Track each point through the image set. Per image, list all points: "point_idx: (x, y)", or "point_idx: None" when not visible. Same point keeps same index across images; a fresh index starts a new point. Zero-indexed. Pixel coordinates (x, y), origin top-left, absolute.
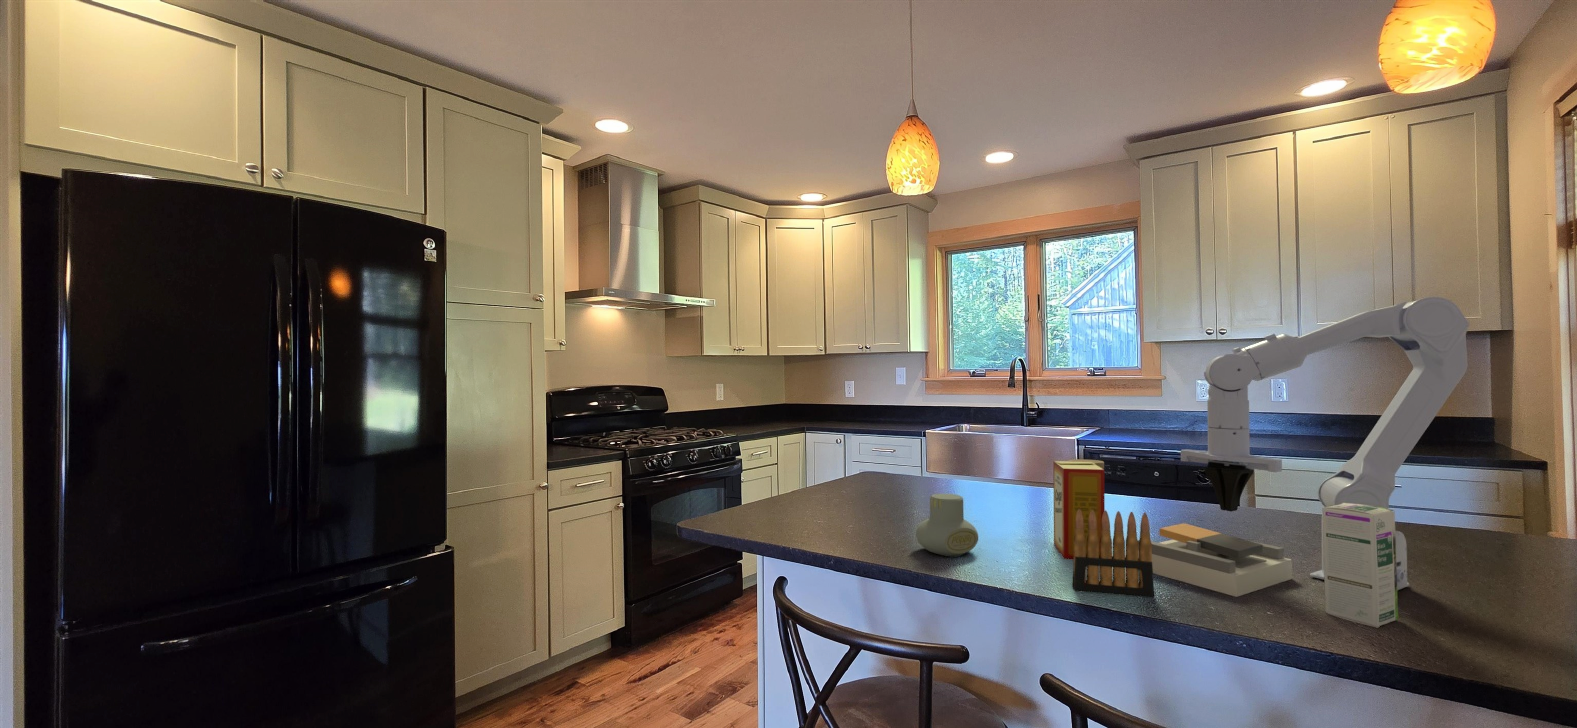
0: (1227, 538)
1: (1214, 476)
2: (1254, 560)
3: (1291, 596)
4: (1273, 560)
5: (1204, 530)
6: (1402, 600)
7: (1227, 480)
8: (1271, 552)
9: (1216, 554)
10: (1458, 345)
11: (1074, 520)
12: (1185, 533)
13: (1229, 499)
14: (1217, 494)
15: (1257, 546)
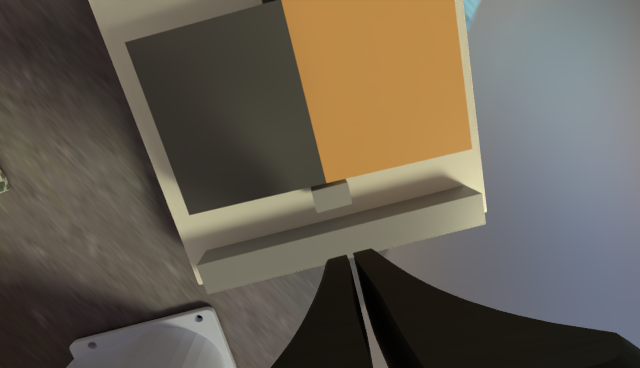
0: (268, 147)
1: (468, 342)
2: None
3: (96, 133)
4: (200, 228)
5: (371, 147)
6: (44, 339)
7: (330, 363)
8: (219, 253)
9: None
10: None
11: None
12: (355, 17)
13: (325, 281)
14: (402, 273)
15: (176, 179)
